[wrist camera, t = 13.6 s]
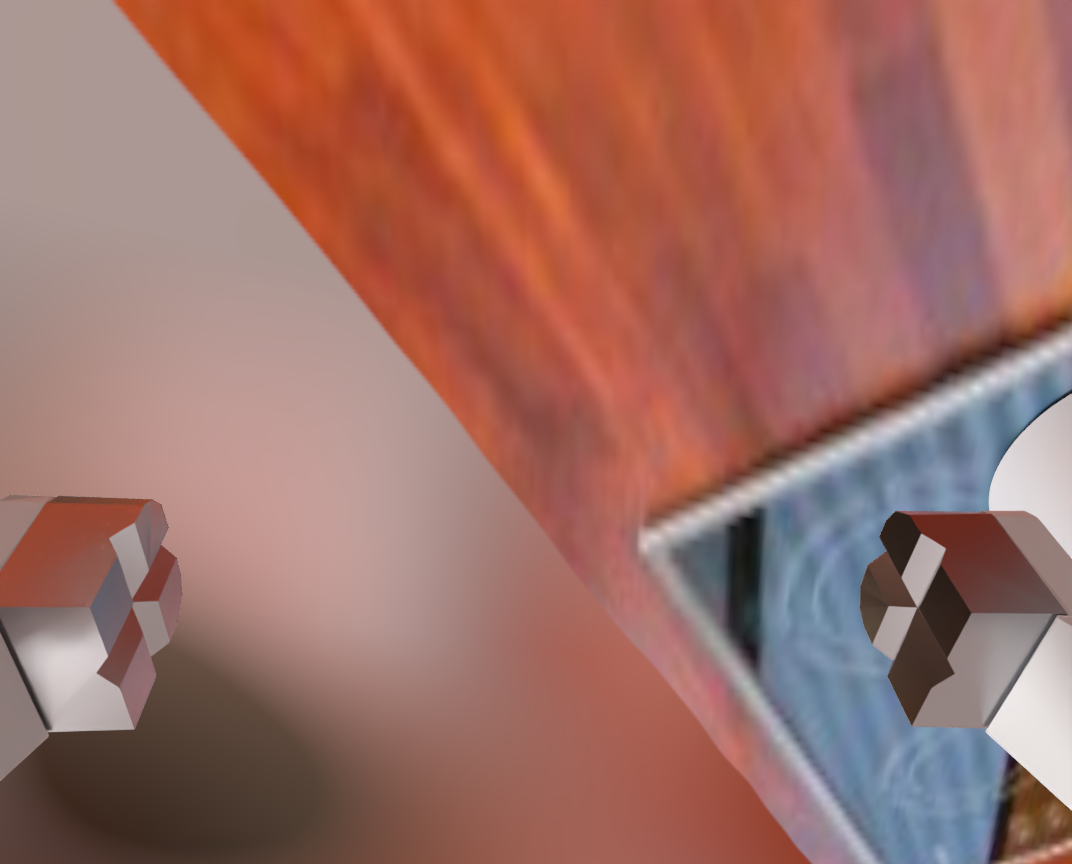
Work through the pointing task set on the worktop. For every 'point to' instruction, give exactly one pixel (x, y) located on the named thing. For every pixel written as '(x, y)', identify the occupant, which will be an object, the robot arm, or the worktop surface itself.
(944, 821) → the worktop surface
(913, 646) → the robot arm
